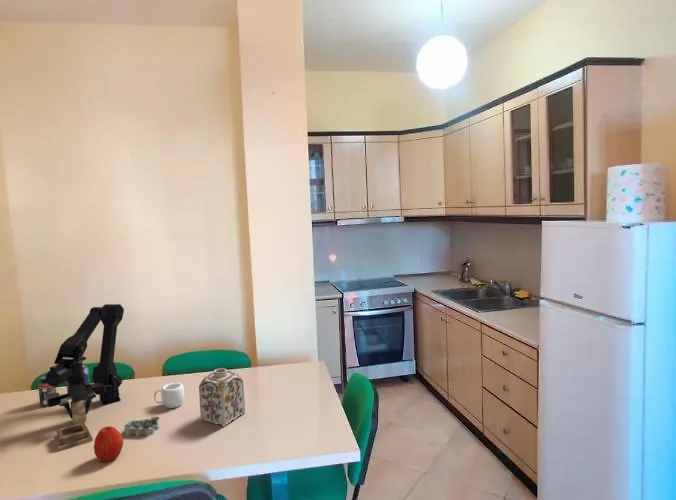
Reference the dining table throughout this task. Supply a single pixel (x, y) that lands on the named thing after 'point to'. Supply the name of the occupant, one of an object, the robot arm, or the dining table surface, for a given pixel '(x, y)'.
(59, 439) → the walnut socket holder
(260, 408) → the dining table surface
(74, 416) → the wooden dowel
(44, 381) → the supplement bottle
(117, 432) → the apple
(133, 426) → the egg carton
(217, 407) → the decorative jar
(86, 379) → the soda can
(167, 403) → the mug
